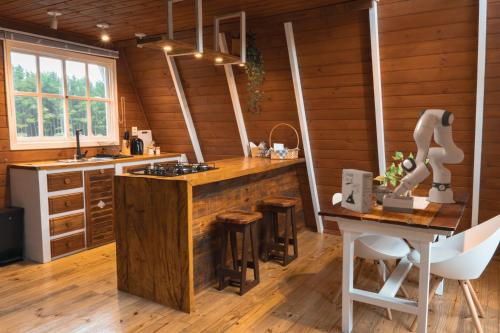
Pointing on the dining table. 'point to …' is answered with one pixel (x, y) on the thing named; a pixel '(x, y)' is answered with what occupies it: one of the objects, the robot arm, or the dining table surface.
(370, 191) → the cereal box
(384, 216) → the dining table surface
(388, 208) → the socket box
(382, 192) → the food container
